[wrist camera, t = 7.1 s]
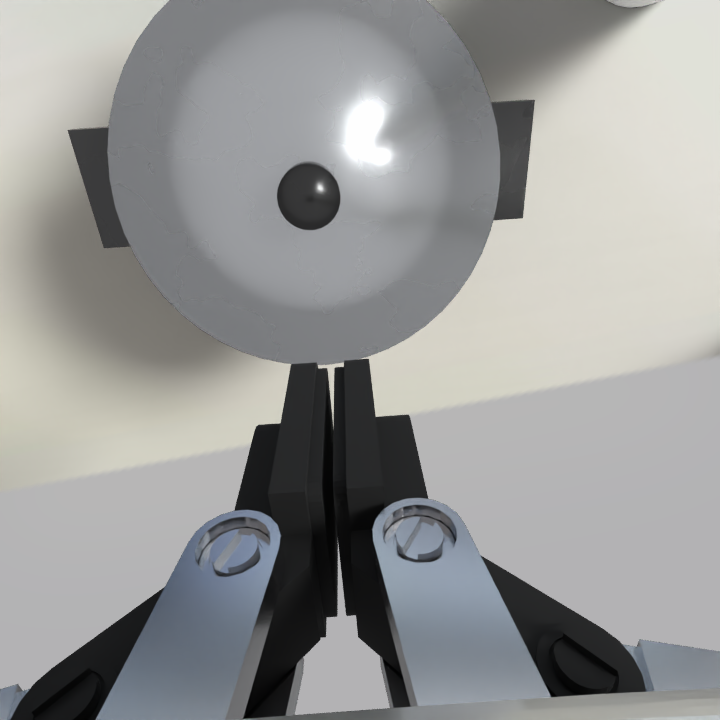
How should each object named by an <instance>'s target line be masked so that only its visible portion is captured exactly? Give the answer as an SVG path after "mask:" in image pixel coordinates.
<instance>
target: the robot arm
mask: <svg viewBox="0 0 720 720" xmlns="http://www.w3.org/2000/svg"><path fill="white" fill-rule="evenodd" d="M337 543H338V544H339V552H340V562H341V571H342V580H343V590H344V599H345V608H346V615H347V616H351V615H356V618H357V629H358V637H359V638H360V639H361V640H362V641H363V642H365V643H366V644H367V645H368V646H369V647H370V648H371V649H373V650H374V651H375V652H376V653H377V654H378V655H380V661H381V670H382V674H383V678H384V683H385V687H386V692H387V696H388V701H389V705H390V708H387V709H373V710H360V711H347V712H332V713H319V714H304V715H294V714H295V709H296V704H297V700H298V695H299V690H300V685H301V680H302V675H303V664H304V659H303V656H305V654H307V653H308V652H309V651H310V650H311V649H312V648H313V647H314V645H316V643H318V642H319V641H320V637H326V617H336V616H337V585H338V580H337V579H338V578H337V577H338V567H337V566H338V564H337V563H338V562H337V561H338V551H337V550H338V544H337ZM0 720H720V651H714V650H707V649H700V648H694V647H688V646H680V645H674V644H667V643H661V642H654V641H648V640H641V639H640V640H639V642H638V645H637V647H635V646H629V645H623V644H621V643H620V641H618V640H617V639H616V638H614V637H613V636H612V635H610V634H609V633H608V632H606V631H605V630H604V629H602V628H601V627H599V626H597V625H596V624H594V623H592V622H591V621H589V620H587V619H586V618H584V617H582V616H581V615H579V614H577V613H576V612H574V611H572V610H571V609H569V608H567V607H566V606H564V605H562V604H561V603H559V602H557V601H556V600H554V599H552V598H550V597H549V596H547V595H545V594H544V593H542V592H541V591H539V590H537V589H535V588H534V587H532V586H531V585H529V584H527V583H526V582H524V581H522V580H521V579H519V578H517V577H516V576H514V575H512V574H511V573H509V572H507V571H506V570H504V569H502V568H501V567H499V566H497V565H496V564H494V563H492V562H491V561H489V560H487V559H485V558H484V557H482V556H481V555H480V554H479V551H478V549H477V547H476V545H475V543H474V541H473V539H472V538H471V535H470V533H469V531H468V529H467V527H466V525H465V523H464V522H463V521H462V519H461V518H460V516H459V515H458V514H457V513H456V512H455V511H453V510H452V509H451V508H449V507H448V506H447V505H445V504H442V503H440V502H438V501H435V500H431V499H428V496H427V491H426V487H425V482H424V478H423V473H422V469H421V465H420V460H419V456H418V451H417V447H416V442H415V438H414V434H413V429H412V425H411V420H410V416H409V415H397V416H383V417H375V409H374V400H373V391H372V383H371V374H370V365H369V359H359V360H344V367H337V368H335V375H334V430H333V420H332V410H331V400H330V390H329V380H328V371H327V368H322V369H318V365H317V362H314V363H299V364H292V365H291V369H290V374H289V380H288V386H287V391H286V397H285V402H284V408H283V413H282V419H281V423H280V424H265V425H258V426H256V429H255V432H254V436H253V440H252V444H251V447H250V451H249V456H248V459H247V463H246V467H245V471H244V475H243V479H242V483H241V488H240V491H239V495H238V499H237V502H236V506H235V510H234V511H232V512H228V513H225V514H222V515H219V516H217V517H216V518H214V519H212V520H210V521H208V522H207V523H205V524H204V525H203V526H202V527H201V528H200V529H199V530H197V531H196V533H195V534H194V535H193V537H192V538H191V540H190V541H189V542H188V544H187V546H186V548H185V550H184V552H183V553H182V555H181V558H180V559H179V561H178V563H177V565H176V567H175V569H174V571H173V573H172V574H171V576H170V578H169V580H168V582H167V584H166V586H165V587H164V588H163V589H161V590H160V591H159V592H157V593H156V594H154V595H153V596H152V597H150V598H149V599H147V600H146V601H145V602H143V603H142V604H141V605H139V606H138V607H136V608H135V609H134V610H132V611H131V612H129V613H128V614H127V615H125V616H124V617H123V618H121V619H120V620H118V621H117V622H116V623H114V624H113V625H111V626H110V627H109V628H108V629H106V630H104V631H103V632H102V633H100V634H99V635H98V636H96V637H95V638H94V639H92V640H91V641H90V642H88V643H86V644H85V645H84V646H82V647H81V648H80V649H78V650H77V651H75V652H74V653H73V654H71V655H70V656H68V657H67V658H66V659H64V660H63V661H62V662H60V663H59V664H57V665H56V666H55V667H53V668H52V669H51V670H50V671H49V672H47V673H46V674H45V675H44V676H43V677H41V679H39V680H38V681H37V682H36V683H35V684H34V685H33V686H32V687H31V689H28V690H24V691H22V689H21V688H20V686H19V685H18V684H16V685H13V686H10V687H6V688H3V689H0Z"/></svg>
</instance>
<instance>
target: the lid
mask: <svg viewBox="0 0 720 720" xmlns="http://www.w3.org/2000/svg"><path fill="white" fill-rule="evenodd" d="M107 152H108V165H109V178H110V184H111V189H112V194H113V198H114V203H115V208H116V211H117V214H118V217H119V220H120V223H121V225H122V228H123V231H124V234H125V236H126V238H127V240H128V242H129V244H130V246H131V249H132V251H133V253H134V255H135V257H136V258H137V260H138V262H139V263H140V265H141V266H142V268H143V270H144V271H145V273H146V274H147V276H148V277H149V279H150V280H151V281H152V283H153V284H154V285H155V286H156V288H157V289H158V290H159V291H160V293H161V294H162V295H163V296H164V298H165V299H166V300H168V301H169V302H170V303H171V304H172V305H173V306H174V307H175V308H176V309H177V310H178V311H179V312H180V313H181V314H182V315H183V316H184V317H185V318H187V319H188V320H189V321H190V322H192V323H193V324H194V325H196V326H197V327H198V328H199V329H201V330H202V331H204V332H206V333H207V334H209V335H210V336H212V337H214V338H215V339H217V340H219V341H220V342H222V343H224V344H226V345H229V346H231V347H233V348H235V349H237V350H239V351H242V352H244V353H247V354H250V355H253V356H256V357H259V358H262V359H267V360H272V361H276V362H281V363H288V364H299V363H314V362H317V365H328V364H335V363H342V362H344V360H356V359H360V358H364V357H368V356H371V355H373V354H376V353H378V352H381V351H383V350H386V349H389V348H390V347H392V346H394V345H396V344H398V343H400V342H402V341H404V340H405V339H407V338H409V337H410V336H412V335H413V334H415V333H416V332H417V331H419V330H420V329H422V328H423V327H425V326H426V325H427V324H428V323H429V322H430V321H432V320H433V319H434V318H435V317H436V316H437V315H438V314H439V313H440V312H442V311H443V310H444V308H445V307H446V306H447V305H448V304H449V303H450V302H451V300H452V299H453V298H454V297H455V296H456V295H457V294H458V292H459V291H460V289H461V288H462V286H463V285H464V283H465V282H466V281H467V279H468V278H469V276H470V275H471V273H472V271H473V269H474V267H475V265H476V263H477V262H478V260H479V258H480V256H481V254H482V252H483V249H484V246H485V244H486V241H487V238H488V236H489V233H490V231H491V227H492V223H493V219H494V215H495V211H496V207H497V200H498V192H499V184H500V149H499V140H498V132H497V125H496V121H495V117H494V113H493V109H492V105H491V101H490V97H489V95H488V92H487V90H486V87H485V84H484V82H483V79H482V77H481V74H480V72H479V70H478V68H477V66H476V64H475V63H474V61H473V59H472V57H471V55H470V53H469V52H468V50H467V48H466V46H465V45H464V43H463V42H462V41H461V39H460V38H459V37H458V35H457V34H456V33H455V31H454V30H453V28H452V27H451V26H450V24H449V23H448V22H447V21H446V20H445V19H444V18H443V17H442V16H441V15H440V14H439V12H438V11H437V10H436V9H435V8H434V7H433V6H432V5H431V4H430V3H429V2H428V1H427V0H169V1H168V2H167V4H166V5H165V6H164V7H163V8H162V9H161V10H160V11H159V12H158V13H157V14H156V15H155V16H154V17H153V19H152V20H151V21H150V23H149V24H148V26H147V27H146V28H145V30H144V31H143V33H142V34H141V35H140V37H139V38H138V40H137V41H136V43H135V45H134V47H133V49H132V51H131V53H130V55H129V57H128V59H127V61H126V63H125V65H124V67H123V70H122V73H121V76H120V79H119V82H118V85H117V88H116V91H115V94H114V99H113V104H112V109H111V115H110V120H109V132H108V151H107Z"/></svg>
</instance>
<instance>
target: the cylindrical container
mask: <svg viewBox="0 0 720 720" xmlns="http://www.w3.org/2000/svg"><path fill="white" fill-rule="evenodd" d="M607 1H609V2H611V3H613V4H615V5H617V6H623V7H629V8H631V7H642V6H646V5H649V4H653V3H656V2H660V1H663V0H607Z"/></svg>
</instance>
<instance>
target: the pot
mask: <svg viewBox="0 0 720 720" xmlns="http://www.w3.org/2000/svg"><path fill="white" fill-rule="evenodd" d="M534 102H535V100H515V101H500V102H491V105H492V109H493V113H494V117H495V121H496V125H497V132H498V140H499V149H500V184H499V192H498V200H497V207H496V211H495V215H494V219H493V220H503V219H517V218H523V210H524V200H525V190H526V180H527V171H528V161H529V151H530V141H531V131H532V121H533V111H534ZM108 132H109V127H95V128H80V129H72V130H68V133H69V136H70V139H71V143H72V146H73V149H74V152H75V155H76V159H77V162H78V165H79V168H80V172H81V175H82V178H83V181H84V185H85V188H86V191H87V194H88V198H89V201H90V204H91V207H92V211H93V214H94V217H95V220H96V223H97V227H98V230H99V233H100V236H101V240H102V243H103V246H104V248H113V247H127V246H130V244H129V242H128V240H127V238H126V236H125V234H124V231H123V228H122V225H121V223H120V220H119V217H118V214H117V211H116V208H115V203H114V198H113V194H112V189H111V184H110V178H109V165H108V152H107V151H108Z"/></svg>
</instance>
